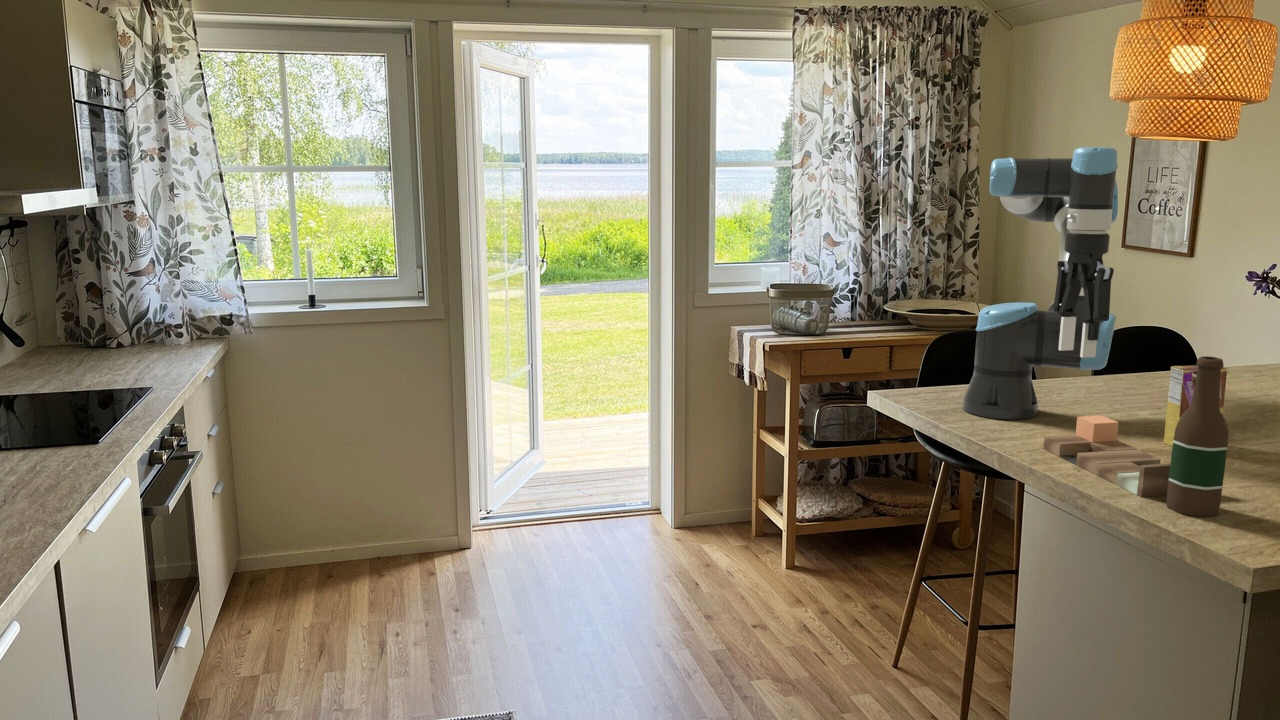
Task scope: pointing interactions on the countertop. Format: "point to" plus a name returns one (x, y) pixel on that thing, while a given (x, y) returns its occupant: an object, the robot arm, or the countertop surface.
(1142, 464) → the board
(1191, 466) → the beer bottle
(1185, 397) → the candy box
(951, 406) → the countertop surface
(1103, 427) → the block
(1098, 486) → the countertop surface
